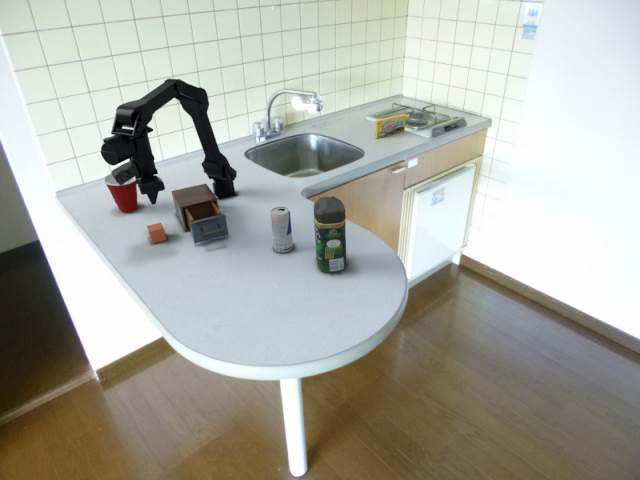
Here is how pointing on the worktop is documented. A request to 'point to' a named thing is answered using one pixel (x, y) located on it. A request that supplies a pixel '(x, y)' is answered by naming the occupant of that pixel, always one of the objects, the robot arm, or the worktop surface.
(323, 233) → the coffee jar
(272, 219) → the energy drink
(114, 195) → the plastic cup
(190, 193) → the cabinet
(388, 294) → the worktop surface
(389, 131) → the candy box
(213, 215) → the drawer
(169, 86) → the robot arm
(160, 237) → the block
